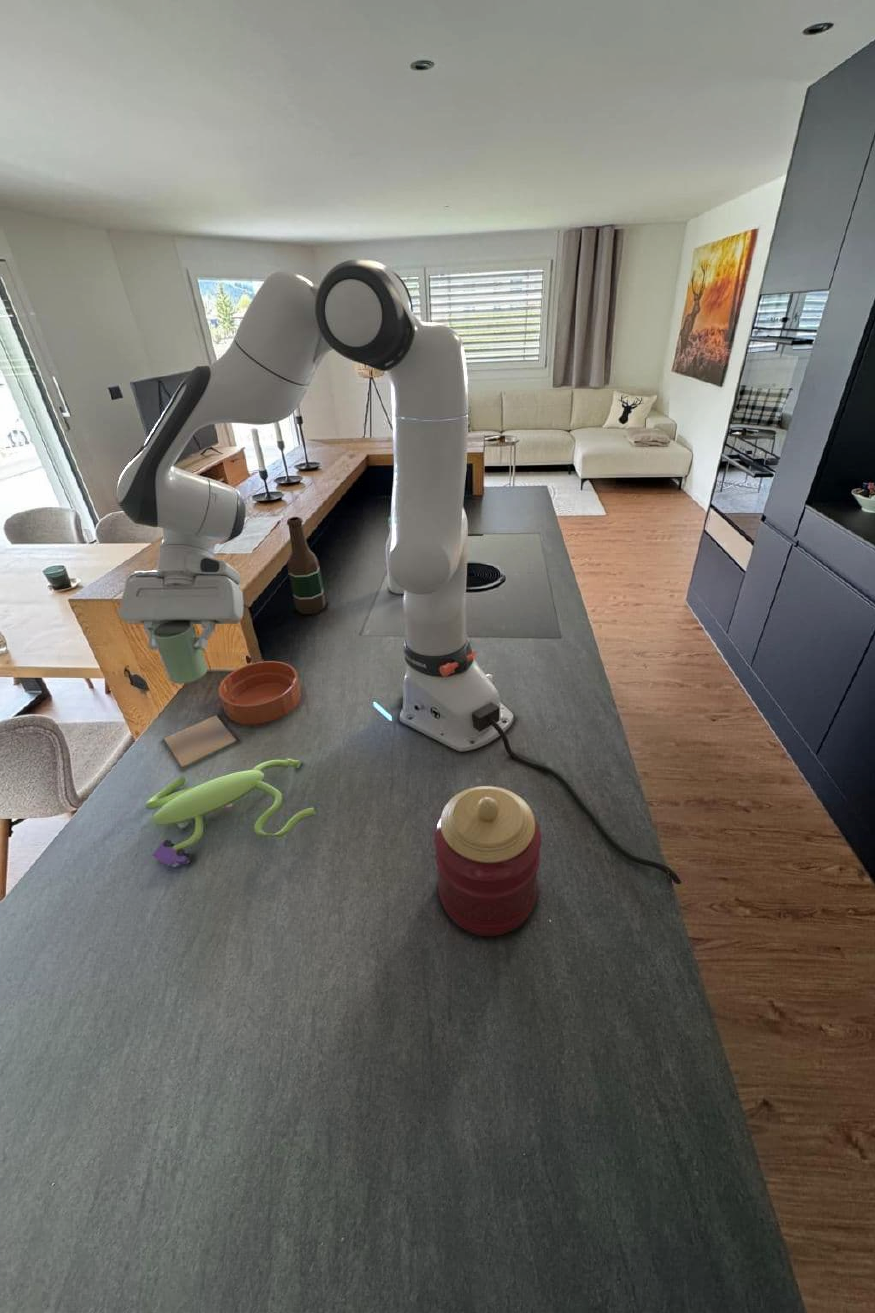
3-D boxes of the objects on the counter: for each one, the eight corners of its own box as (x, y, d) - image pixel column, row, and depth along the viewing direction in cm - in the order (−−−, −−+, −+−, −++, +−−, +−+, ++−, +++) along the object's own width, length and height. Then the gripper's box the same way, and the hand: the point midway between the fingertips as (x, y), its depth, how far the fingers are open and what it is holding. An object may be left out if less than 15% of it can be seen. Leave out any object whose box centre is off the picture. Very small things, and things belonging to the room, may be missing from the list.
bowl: (315, 703, 110) (311, 683, 108) (244, 737, 103) (237, 717, 100) (281, 672, 120) (276, 652, 118) (213, 701, 113) (206, 681, 110)
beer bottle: (290, 612, 143) (270, 522, 130) (307, 599, 149) (289, 511, 136) (316, 617, 140) (298, 525, 127) (332, 603, 146) (317, 514, 133)
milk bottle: (413, 595, 148) (408, 523, 137) (386, 594, 149) (378, 522, 138) (420, 582, 154) (415, 512, 143) (393, 581, 155) (386, 511, 144)
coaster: (237, 743, 102) (236, 740, 101) (182, 769, 96) (181, 767, 96) (216, 717, 108) (215, 715, 108) (164, 741, 103) (163, 738, 103)
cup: (213, 673, 95) (198, 628, 90) (175, 688, 92) (158, 642, 87) (199, 658, 100) (185, 614, 95) (163, 672, 96) (146, 627, 91)
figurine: (318, 850, 81) (312, 824, 78) (126, 884, 78) (111, 859, 75) (318, 762, 96) (313, 738, 93) (157, 788, 93) (146, 764, 90)
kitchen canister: (476, 836, 82) (475, 747, 72) (554, 884, 75) (564, 792, 65) (418, 900, 74) (408, 809, 64) (500, 960, 67) (503, 869, 57)
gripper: (116, 564, 93) (105, 645, 90) (234, 562, 91) (227, 644, 89) (138, 577, 99) (129, 653, 96) (250, 575, 98) (244, 652, 95)
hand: (177, 649), depth 92 cm, fingers closed on cup, 6 cm apart
